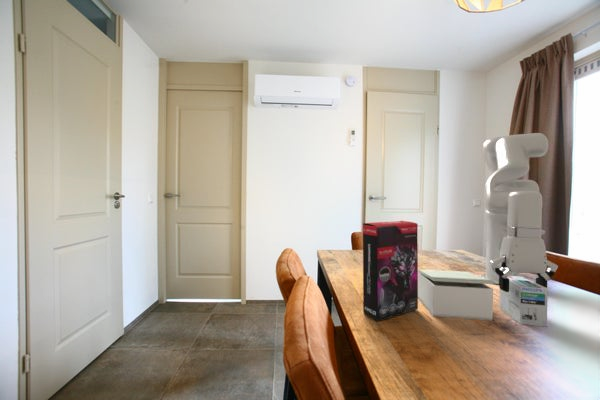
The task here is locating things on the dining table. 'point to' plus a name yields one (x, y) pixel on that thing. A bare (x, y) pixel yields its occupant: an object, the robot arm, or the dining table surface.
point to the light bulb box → (525, 301)
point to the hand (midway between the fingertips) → (522, 291)
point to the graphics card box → (390, 268)
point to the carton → (456, 299)
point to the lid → (454, 276)
